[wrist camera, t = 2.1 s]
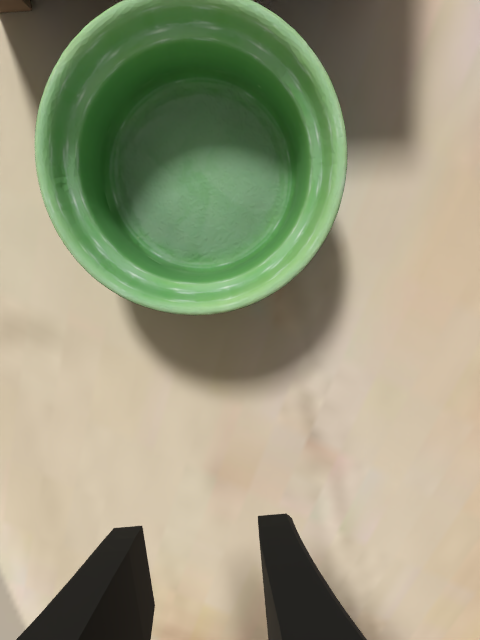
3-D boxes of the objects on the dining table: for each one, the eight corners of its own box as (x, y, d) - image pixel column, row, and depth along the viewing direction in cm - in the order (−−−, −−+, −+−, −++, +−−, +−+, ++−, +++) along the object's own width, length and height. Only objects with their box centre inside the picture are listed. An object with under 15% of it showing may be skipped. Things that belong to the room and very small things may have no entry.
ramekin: (367, 181, 17) (412, 166, 12) (203, 338, 18) (193, 374, 14) (202, -10, 15) (189, -102, 11) (36, 176, 16) (-34, 160, 12)
